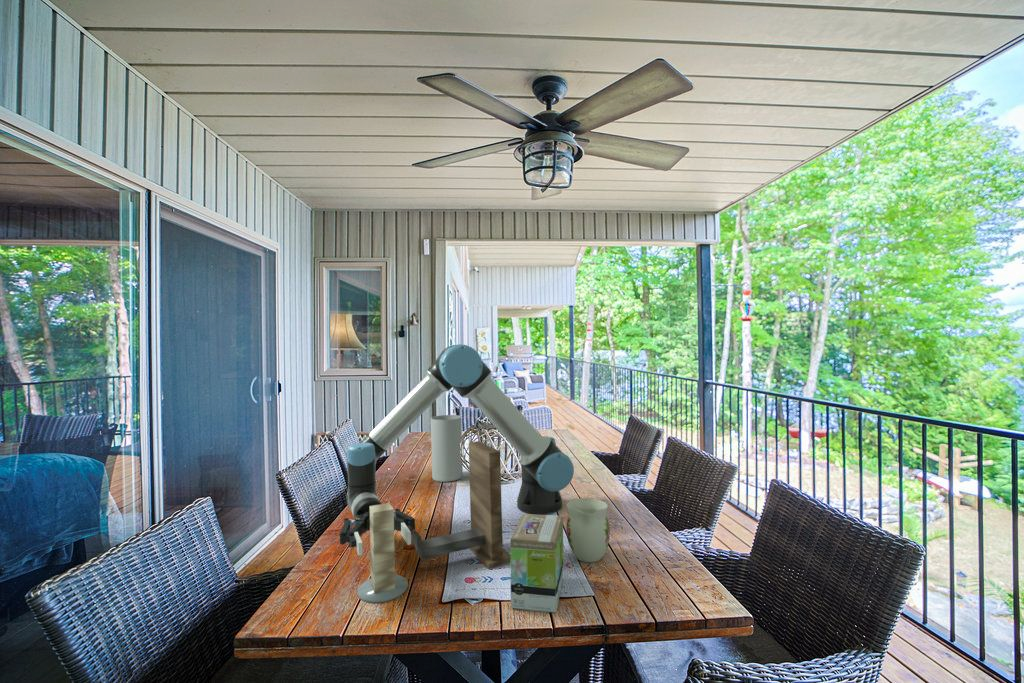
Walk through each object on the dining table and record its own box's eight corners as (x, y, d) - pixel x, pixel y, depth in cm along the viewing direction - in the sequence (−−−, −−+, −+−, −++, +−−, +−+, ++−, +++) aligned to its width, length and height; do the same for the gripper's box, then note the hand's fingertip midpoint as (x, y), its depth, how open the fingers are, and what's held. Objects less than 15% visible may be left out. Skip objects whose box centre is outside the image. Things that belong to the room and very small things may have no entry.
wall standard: (488, 538, 130) (485, 439, 130) (513, 562, 116) (510, 450, 116) (407, 557, 120) (404, 450, 120) (424, 586, 106) (421, 464, 106)
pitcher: (606, 539, 127) (605, 490, 127) (613, 572, 110) (612, 514, 110) (566, 539, 129) (565, 489, 129) (567, 571, 111) (565, 514, 111)
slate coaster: (408, 574, 111) (408, 571, 111) (407, 598, 101) (407, 596, 101) (360, 580, 109) (360, 577, 109) (354, 606, 98) (354, 603, 98)
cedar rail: (390, 579, 108) (389, 502, 108) (395, 588, 104) (393, 509, 104) (371, 584, 106) (369, 506, 106) (374, 593, 102) (373, 512, 102)
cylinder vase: (460, 482, 184) (459, 419, 184) (429, 482, 184) (427, 420, 184) (464, 473, 196) (462, 414, 196) (435, 473, 196) (433, 415, 196)
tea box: (558, 614, 94) (556, 541, 94) (509, 609, 96) (507, 538, 96) (564, 576, 108) (563, 513, 108) (522, 573, 110) (521, 511, 110)
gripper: (411, 517, 126) (435, 549, 106) (322, 534, 116) (331, 573, 96) (410, 489, 126) (434, 516, 106) (321, 504, 116) (330, 537, 96)
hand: (385, 543), depth 101 cm, fingers open, 10 cm apart
